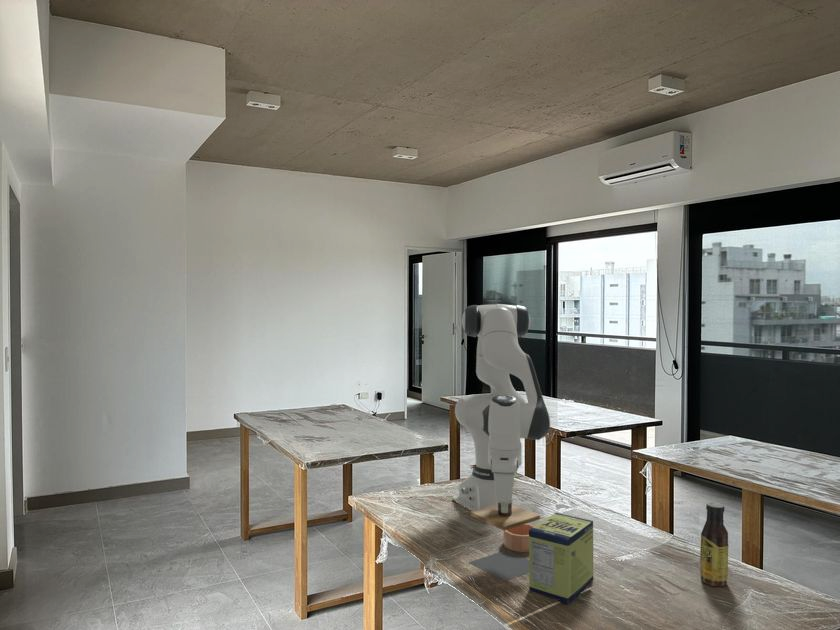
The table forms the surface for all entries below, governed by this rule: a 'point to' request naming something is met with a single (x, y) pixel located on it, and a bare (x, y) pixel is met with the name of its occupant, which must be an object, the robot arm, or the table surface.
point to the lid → (505, 516)
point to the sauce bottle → (714, 547)
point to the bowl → (517, 538)
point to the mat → (503, 565)
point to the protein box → (561, 556)
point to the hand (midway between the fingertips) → (504, 508)
